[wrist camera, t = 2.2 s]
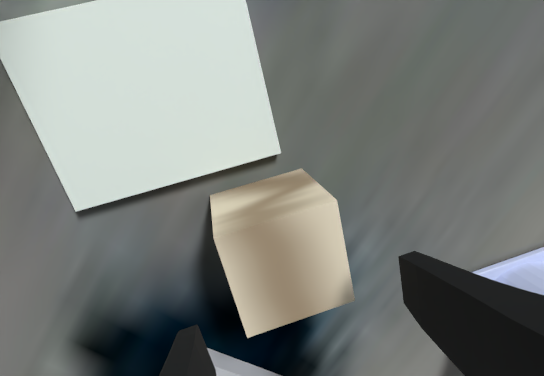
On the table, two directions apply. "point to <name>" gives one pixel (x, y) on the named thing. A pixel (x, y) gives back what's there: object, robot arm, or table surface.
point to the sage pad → (140, 92)
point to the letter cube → (281, 250)
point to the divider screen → (235, 366)
